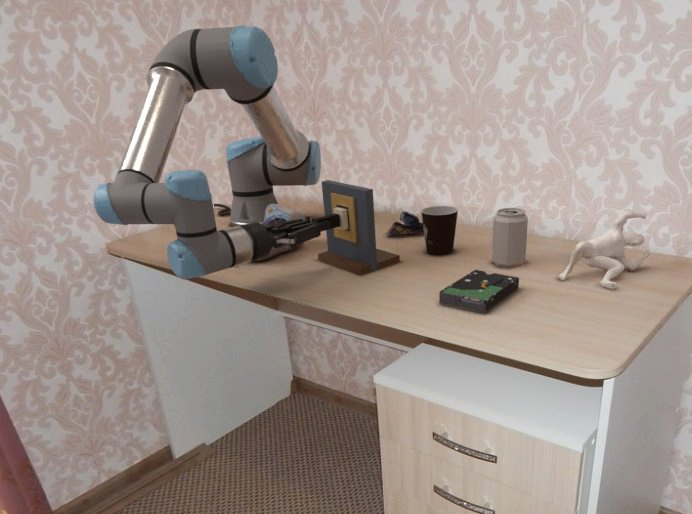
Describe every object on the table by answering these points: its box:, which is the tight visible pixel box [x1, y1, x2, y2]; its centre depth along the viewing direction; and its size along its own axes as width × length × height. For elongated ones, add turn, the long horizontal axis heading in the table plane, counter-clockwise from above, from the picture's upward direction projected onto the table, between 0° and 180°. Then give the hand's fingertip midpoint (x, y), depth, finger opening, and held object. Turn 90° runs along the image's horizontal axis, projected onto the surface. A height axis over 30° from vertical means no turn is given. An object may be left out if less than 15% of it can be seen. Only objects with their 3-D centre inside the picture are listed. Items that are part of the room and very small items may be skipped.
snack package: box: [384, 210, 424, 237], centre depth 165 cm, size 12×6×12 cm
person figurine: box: [559, 210, 652, 290], centre depth 131 cm, size 13×13×18 cm
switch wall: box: [317, 179, 401, 276], centre depth 144 cm, size 12×16×18 cm
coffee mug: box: [420, 205, 459, 257], centre depth 150 cm, size 12×9×10 cm
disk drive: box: [438, 269, 520, 313], centre depth 124 cm, size 10×3×15 cm
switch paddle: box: [334, 207, 348, 230], centre depth 140 cm, size 1×3×4 cm, turn 42°
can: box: [491, 207, 529, 268], centre depth 139 cm, size 8×8×12 cm
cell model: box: [256, 203, 306, 262], centre depth 155 cm, size 13×11×20 cm
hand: (337, 219), depth 140 cm, fingers closed
